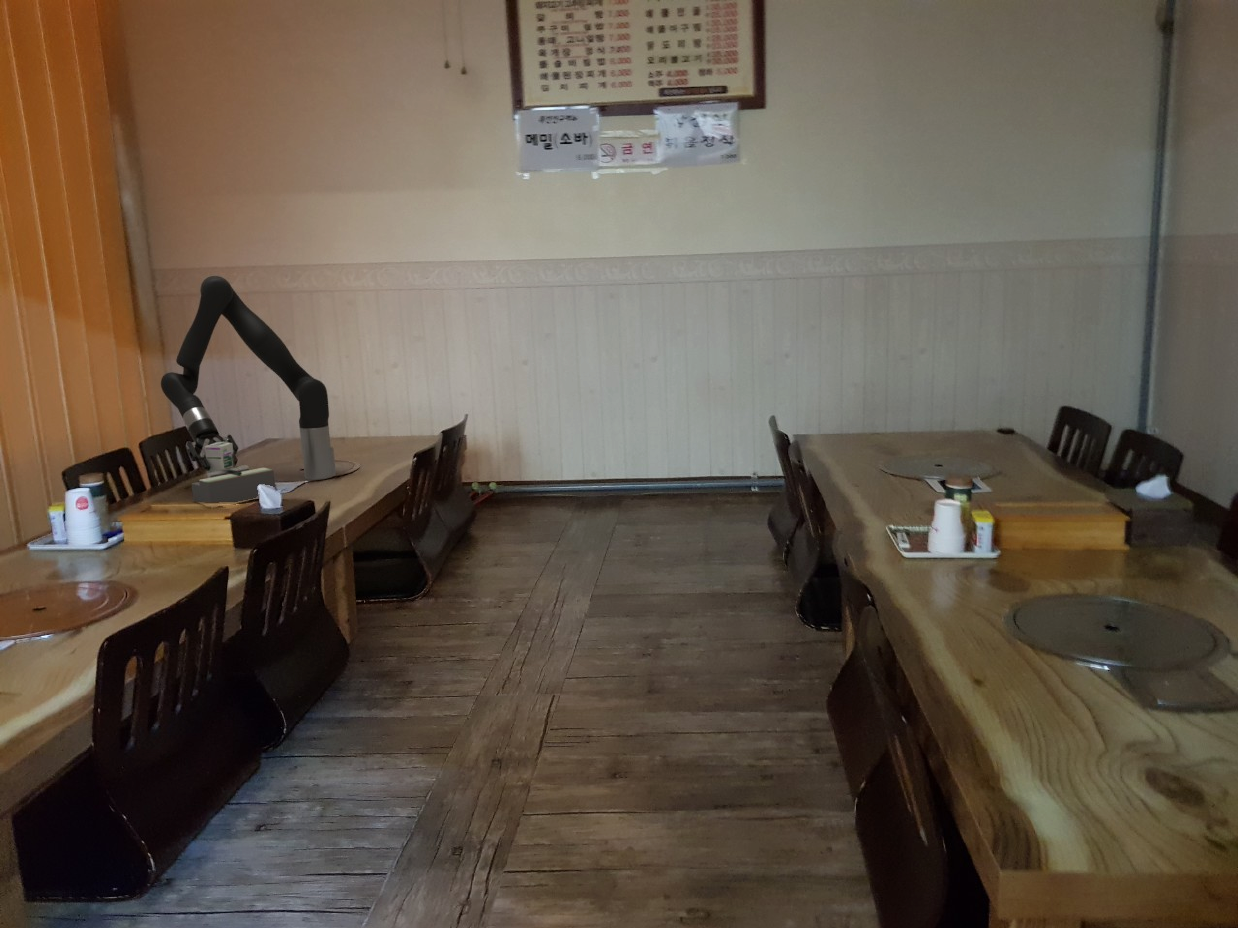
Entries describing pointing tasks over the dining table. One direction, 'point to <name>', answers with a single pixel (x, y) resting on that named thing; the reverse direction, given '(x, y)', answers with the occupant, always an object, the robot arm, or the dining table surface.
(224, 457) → the syrup box
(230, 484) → the block
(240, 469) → the gauge pad
